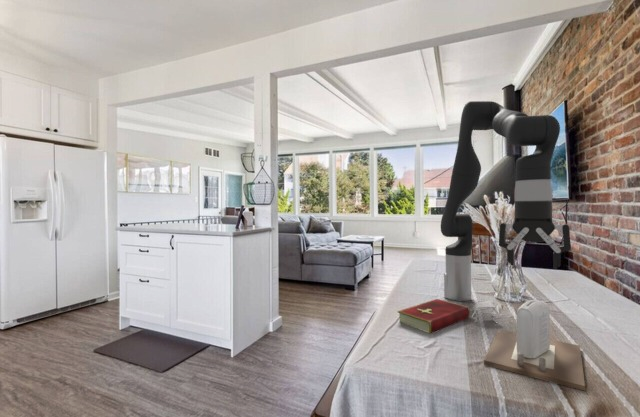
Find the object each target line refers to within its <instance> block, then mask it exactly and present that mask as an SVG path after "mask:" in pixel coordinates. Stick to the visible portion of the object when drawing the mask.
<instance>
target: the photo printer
mask: <svg viewBox="0 0 640 417" xmlns="http://www.w3.org/2000/svg"><path fill="white" fill-rule="evenodd" d="M550 311H551V310H550V307H549V305H548V303H546V302H544V301H542V300H538V299H531V300H528V301H526V302H524V303H522V305H520V306H519V307H518V309H517V310H516V333H517V353H522V354H524V357H526V358H530V359H531V358H536V357H538V356H540V355H541V354H543V353H544V352H546V351H548V350H549V348H550V340H551V337H550V335H551V334H550V332H551V331H550V330H551V329H550V328H551V326H550V325H551V324H550V322H551V321H550V319H551V318H550V315H551V314H550Z"/></svg>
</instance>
